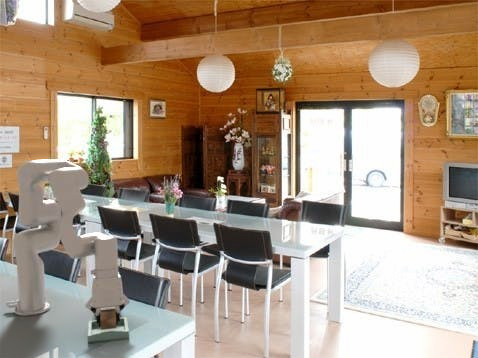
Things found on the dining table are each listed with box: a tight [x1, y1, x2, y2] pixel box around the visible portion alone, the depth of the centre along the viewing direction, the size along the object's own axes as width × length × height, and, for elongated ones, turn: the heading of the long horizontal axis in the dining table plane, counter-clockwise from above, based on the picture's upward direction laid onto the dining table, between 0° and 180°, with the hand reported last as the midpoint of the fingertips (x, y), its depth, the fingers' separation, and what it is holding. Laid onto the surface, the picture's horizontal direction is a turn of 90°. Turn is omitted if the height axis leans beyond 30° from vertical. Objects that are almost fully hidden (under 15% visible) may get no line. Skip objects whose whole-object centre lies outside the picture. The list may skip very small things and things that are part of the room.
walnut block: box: [100, 306, 116, 330], centre depth 162 cm, size 5×5×6 cm
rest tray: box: [87, 316, 130, 344], centre depth 162 cm, size 13×13×3 cm
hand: (108, 323), depth 162 cm, fingers closed on walnut block, 5 cm apart
